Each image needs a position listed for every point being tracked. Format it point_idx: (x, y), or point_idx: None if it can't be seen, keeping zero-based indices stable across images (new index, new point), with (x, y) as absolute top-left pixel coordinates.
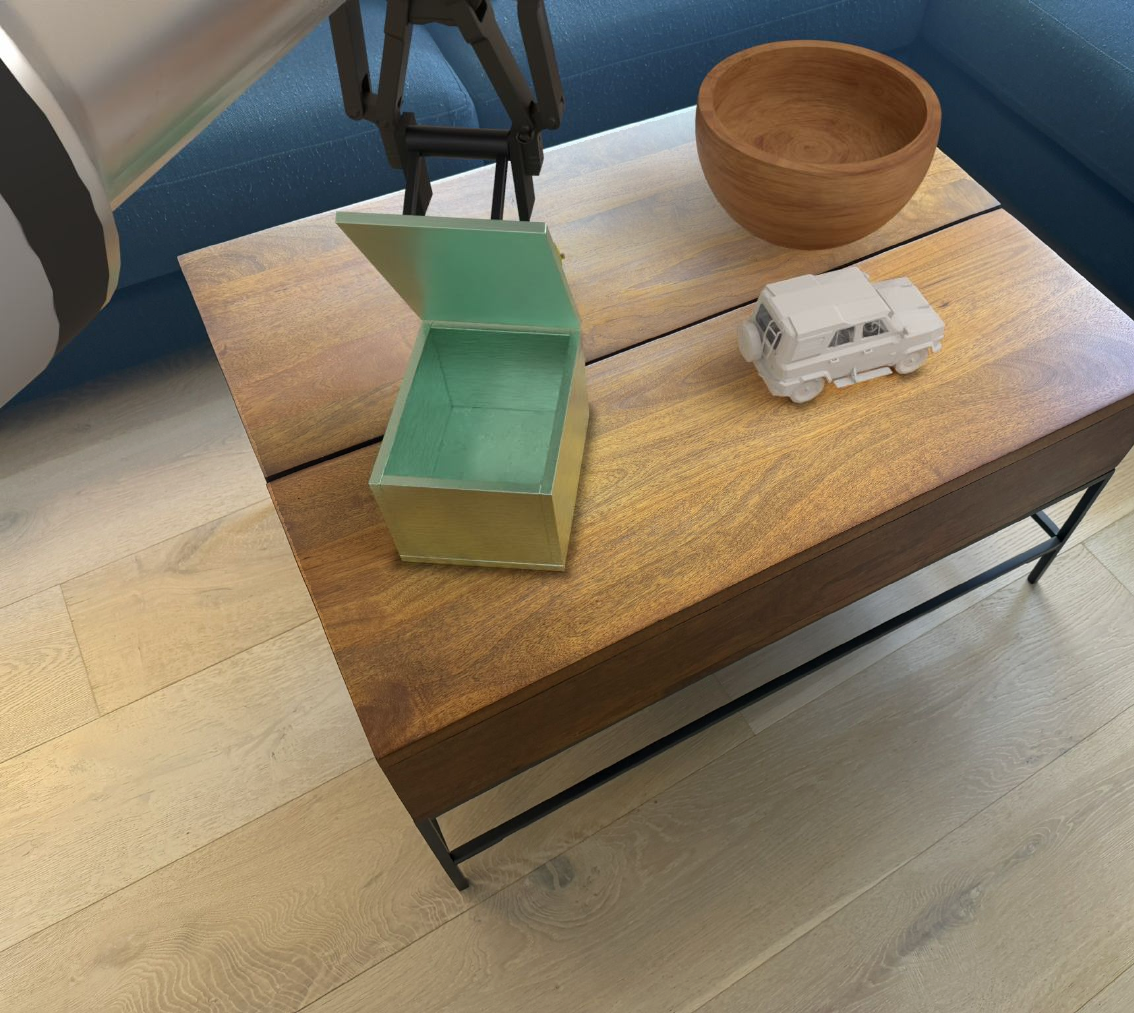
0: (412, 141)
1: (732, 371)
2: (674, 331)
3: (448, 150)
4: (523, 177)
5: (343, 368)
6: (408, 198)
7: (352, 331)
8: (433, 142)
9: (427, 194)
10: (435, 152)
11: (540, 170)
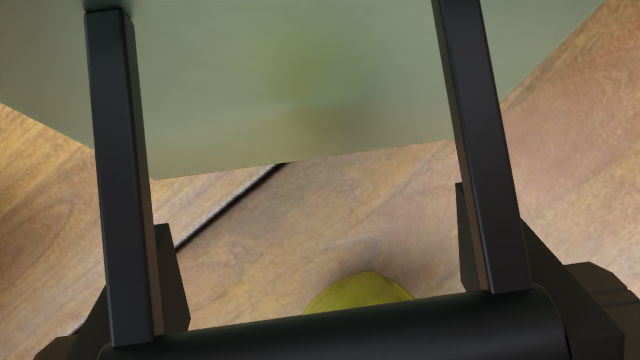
0: (527, 320)
1: (6, 239)
2: None
3: (360, 317)
4: (92, 308)
5: (593, 119)
6: (476, 81)
7: (599, 193)
8: (429, 332)
9: (466, 253)
10: (418, 302)
11: (39, 352)
